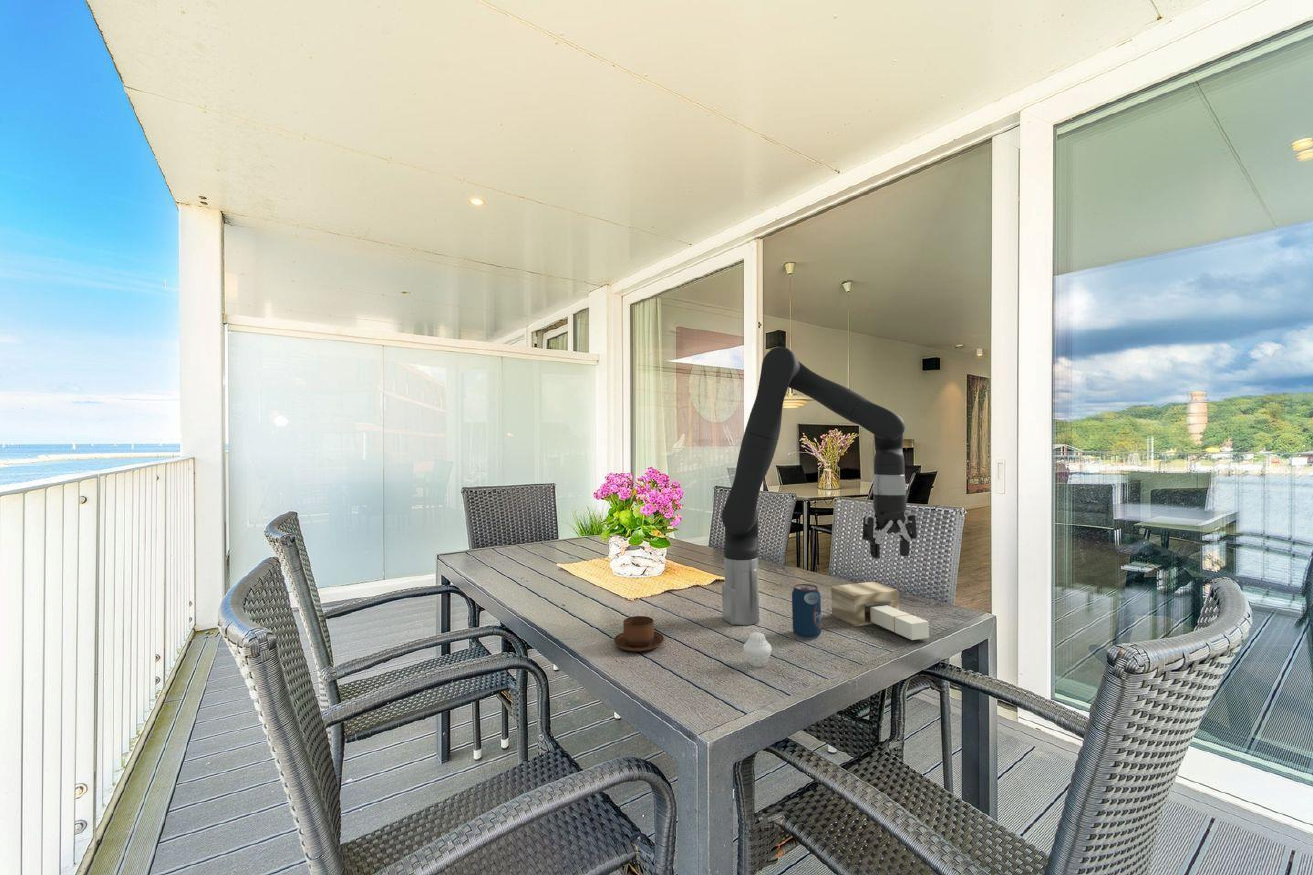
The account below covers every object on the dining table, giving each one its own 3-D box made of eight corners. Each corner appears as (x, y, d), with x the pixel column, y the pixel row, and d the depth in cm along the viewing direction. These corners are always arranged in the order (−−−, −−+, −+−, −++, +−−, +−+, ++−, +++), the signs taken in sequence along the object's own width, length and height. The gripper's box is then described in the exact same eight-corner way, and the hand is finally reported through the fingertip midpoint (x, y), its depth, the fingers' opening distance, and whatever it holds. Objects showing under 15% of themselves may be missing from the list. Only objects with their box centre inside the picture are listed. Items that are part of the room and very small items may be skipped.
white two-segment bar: (912, 640, 125) (911, 623, 125) (870, 621, 139) (870, 606, 139) (929, 637, 127) (928, 621, 127) (886, 619, 141) (886, 604, 141)
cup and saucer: (607, 642, 131) (607, 617, 131) (652, 634, 136) (651, 610, 136) (623, 659, 120) (623, 632, 120) (672, 650, 125) (671, 624, 125)
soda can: (823, 640, 129) (821, 590, 129) (793, 639, 130) (792, 589, 130) (820, 630, 136) (818, 583, 136) (792, 629, 137) (790, 582, 137)
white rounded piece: (753, 672, 112) (753, 638, 112) (738, 661, 117) (737, 630, 117) (778, 666, 114) (777, 634, 114) (761, 656, 120) (760, 625, 120)
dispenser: (857, 627, 137) (856, 596, 138) (831, 615, 148) (831, 586, 148) (901, 621, 141) (900, 590, 142) (873, 609, 152) (873, 581, 152)
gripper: (902, 490, 139) (902, 552, 139) (855, 491, 135) (856, 555, 135) (924, 492, 132) (924, 558, 131) (875, 494, 128) (876, 562, 127)
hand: (890, 557), depth 133 cm, fingers open, 8 cm apart
